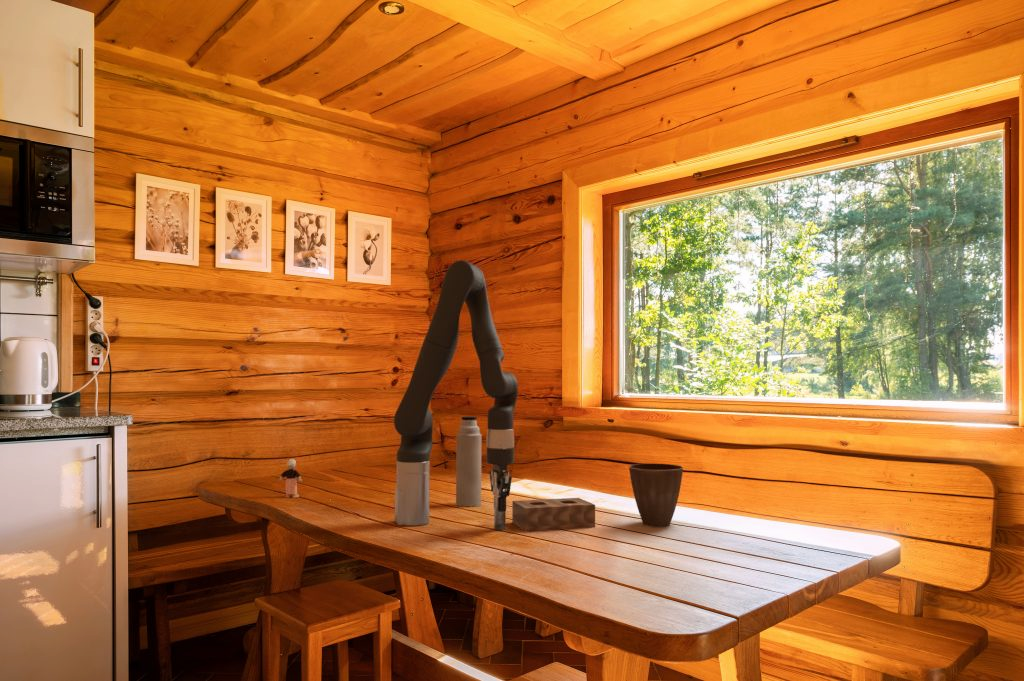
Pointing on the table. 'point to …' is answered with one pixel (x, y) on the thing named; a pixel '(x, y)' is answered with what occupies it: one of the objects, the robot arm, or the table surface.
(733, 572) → the table surface
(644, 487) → the plant pot
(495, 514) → the metal pin
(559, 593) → the table surface
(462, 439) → the thermos bottle
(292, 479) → the grandmother figurine
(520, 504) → the walnut bore block
